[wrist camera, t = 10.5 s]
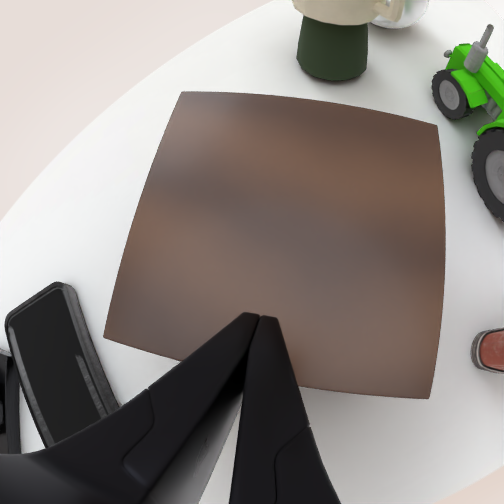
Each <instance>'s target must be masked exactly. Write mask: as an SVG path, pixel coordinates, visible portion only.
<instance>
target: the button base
mask: <svg viewBox="0 0 504 504" xmlns="http://www.w3.org/2000/svg"><path fill="white" fill-rule="evenodd" d="M0 454H21V448H20V432H19V379H18V376H17V372H16V369H15V366H14V362H13V359H12V355H11V353H10V352H7V351H5V350H3V349H0Z"/></svg>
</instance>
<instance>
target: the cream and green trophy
mask: <svg viewBox="0 0 504 504" xmlns="http://www.w3.org/2000/svg"><path fill="white" fill-rule="evenodd" d="M292 2H293V5H294V7H295V9H296V10H298V11H299V12H301V13H302V14H303V15H304V16H303V21H302V26H301V32H300V37H299V42H298V50H297V60H298V62H299V64H300V66H301V68H302V69H303V70H305V71H306V72H308V73H309V74H311V75H312V76H313V77H317V78H322V79H326V80H348V79H351V78H354V77H357V76H360V75H361V74H362V73H363V72H364V71H365V70H366V65H367V55H368V26H367V23H368V22H371V21H373V20H374V19H375V18H376V17H377V16H378V15H380V16H382V17H384V18H386V19H388V20H390V21H394V22H398V21H399V20H400V19H401V16H402V12H403V8H404V4H405V0H391V1H390V6H389V7H388V6H387V5H385V4H386V0H292Z"/></svg>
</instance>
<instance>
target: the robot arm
mask: <svg viewBox="0 0 504 504" xmlns="http://www.w3.org/2000/svg"><path fill="white" fill-rule="evenodd" d="M241 403H242V406H241ZM240 406H241V414H240V422H239V429H238V437H237V445H236V453H235V460H234V468H233V476H232V483H231V491H230V499H229V504H341V502H340V500H339V498H338V496H337V494H336V492H335V490H334V488H333V486H332V483H331V481H330V479H329V477H328V474H327V472H326V470H325V467H324V465H323V463H322V460H321V457H320V454H319V451H318V448H317V445H316V442H315V439H314V436H313V433H312V429H311V427H309V425H310V423H309V420H308V417H307V413H306V410H305V407H304V403H303V400H302V397H301V393H300V390H299V387H298V383H297V380H296V377H295V373H294V370H293V367H292V363H291V360H290V357H289V353H288V350H287V347H286V344H285V340H284V337H283V334H282V330H281V327H280V324H279V321H278V319H277V318H276V317H272V316H267V315H262V316H261V317H260V315H259V314H256V313H250V312H243V313H241V314H240V315H239V316H238V317H236V318H235V319H234V320H233V321H232V322H230V323H229V324H228V325H227V326H225V327H224V328H223V329H222V330H220V331H219V332H218V333H217V334H215V335H214V336H213V337H212V338H211V339H209V340H208V341H207V342H205V343H204V344H203V345H202V346H200V347H199V348H198V349H197V350H195V351H194V352H193V353H192V354H190V355H189V356H188V357H187V358H185V359H184V360H183V361H181V362H180V363H179V364H178V365H176V366H175V367H174V368H172V369H171V370H170V371H169V372H167V373H166V374H165V375H163V376H162V377H161V378H160V379H158V380H157V381H156V382H154V383H153V384H152V385H150V386H149V387H148V389H145V390H144V391H142V392H141V393H140V394H138V395H137V396H136V397H134V398H133V399H131V400H130V401H129V402H127V403H126V404H124V405H123V406H121V407H120V408H119V409H117V410H116V411H114V412H112V413H111V414H109V415H107V416H106V417H104V418H102V419H101V420H99V421H97V422H95V423H94V424H92V425H90V426H88V427H86V428H85V429H83V430H81V431H79V432H77V433H75V434H73V435H72V436H70V437H68V438H66V439H64V440H62V441H60V442H58V443H56V444H54V445H52V446H50V447H48V448H45V449H43V450H40V451H36V452H32V453H26V454H0V504H198V503H199V501H200V499H201V496H202V494H203V492H204V490H205V488H206V485H207V483H208V481H209V479H210V476H211V474H212V472H213V470H214V467H215V465H216V463H217V460H218V458H219V456H220V454H221V451H222V449H223V447H224V444H225V442H226V440H227V437H228V435H229V432H230V430H231V428H232V425H233V423H234V421H235V418H236V416H237V413H238V411H239V408H240Z"/></svg>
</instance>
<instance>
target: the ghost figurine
mask: <svg viewBox="0 0 504 504" xmlns="http://www.w3.org/2000/svg"><path fill="white" fill-rule="evenodd" d="M390 1H391V0H386V4H385V5H387V6H388V7H389V6H390ZM428 2H429V0H405V4H404V8H403V12H402V16H401V19H400V20H399V21H398V22H394V21H390V20H388V19H386V18H384V17H382V16H380V15H378V16H377V17H376V18H375V19H374V20H373V21H371V23H373V24H375V25H378V26H381V27H385V28H392V29H397V28H404V27H408V26H410V25H413V24H414V23H416V22H417V21H419V20H420V19H421V18H422V17H423V15H424V14H425V12H426V10H427V7H428Z"/></svg>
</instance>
